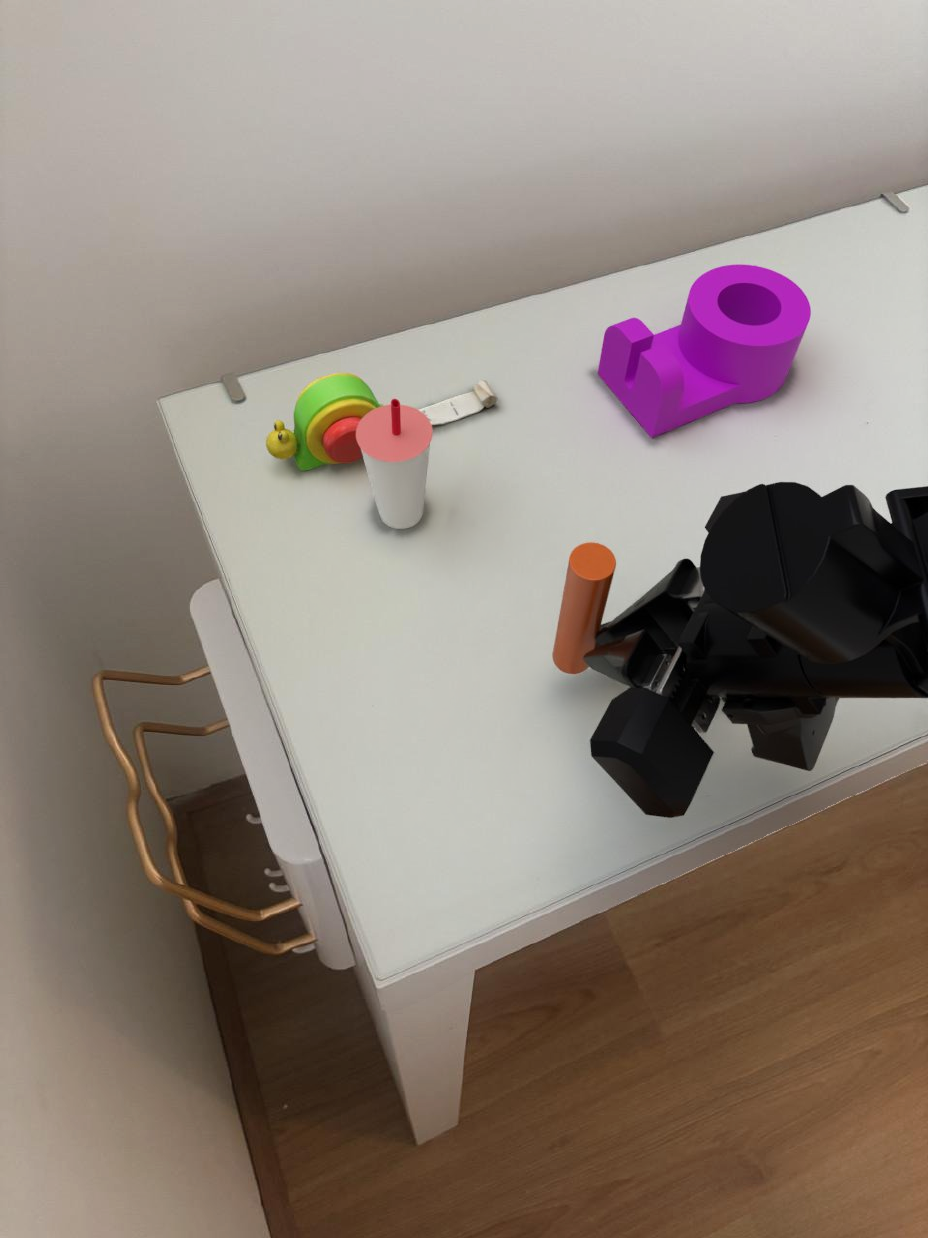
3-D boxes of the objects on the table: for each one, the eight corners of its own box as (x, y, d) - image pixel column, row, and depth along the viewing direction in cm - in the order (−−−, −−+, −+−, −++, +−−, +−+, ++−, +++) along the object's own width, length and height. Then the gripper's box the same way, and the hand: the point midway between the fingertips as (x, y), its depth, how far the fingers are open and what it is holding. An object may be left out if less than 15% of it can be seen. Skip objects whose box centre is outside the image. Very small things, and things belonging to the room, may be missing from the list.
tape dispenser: (741, 310, 84) (760, 251, 78) (810, 378, 79) (836, 321, 74) (592, 368, 80) (602, 309, 74) (656, 444, 75) (672, 387, 70)
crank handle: (713, 591, 64) (760, 482, 54) (736, 628, 62) (789, 522, 52) (543, 648, 61) (559, 545, 51) (562, 688, 60) (583, 590, 50)
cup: (446, 526, 71) (444, 415, 61) (381, 548, 70) (367, 439, 59) (420, 477, 73) (413, 362, 63) (357, 497, 72) (340, 384, 62)
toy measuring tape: (260, 441, 75) (244, 381, 70) (477, 374, 79) (478, 313, 74) (284, 497, 72) (269, 439, 67) (508, 424, 76) (512, 364, 71)
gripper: (842, 900, 43) (601, 854, 55) (945, 607, 52) (715, 624, 64) (725, 758, 38) (489, 743, 51) (859, 461, 47) (629, 510, 59)
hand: (593, 651), depth 56 cm, fingers closed
